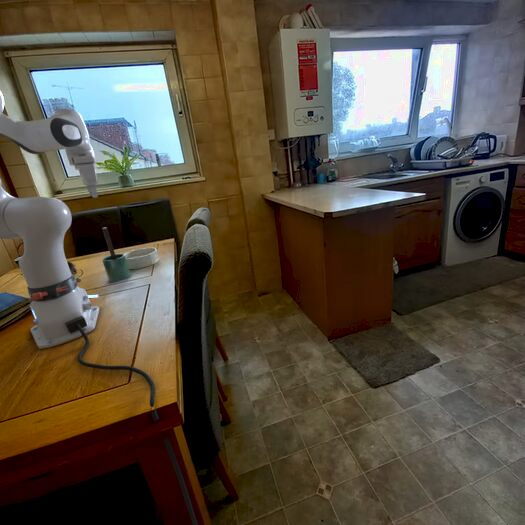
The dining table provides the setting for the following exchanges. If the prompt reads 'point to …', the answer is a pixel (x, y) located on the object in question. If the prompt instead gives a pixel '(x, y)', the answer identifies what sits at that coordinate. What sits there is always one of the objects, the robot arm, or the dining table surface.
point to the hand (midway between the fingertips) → (94, 197)
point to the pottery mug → (72, 267)
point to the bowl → (141, 257)
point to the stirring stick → (109, 243)
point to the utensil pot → (116, 268)
